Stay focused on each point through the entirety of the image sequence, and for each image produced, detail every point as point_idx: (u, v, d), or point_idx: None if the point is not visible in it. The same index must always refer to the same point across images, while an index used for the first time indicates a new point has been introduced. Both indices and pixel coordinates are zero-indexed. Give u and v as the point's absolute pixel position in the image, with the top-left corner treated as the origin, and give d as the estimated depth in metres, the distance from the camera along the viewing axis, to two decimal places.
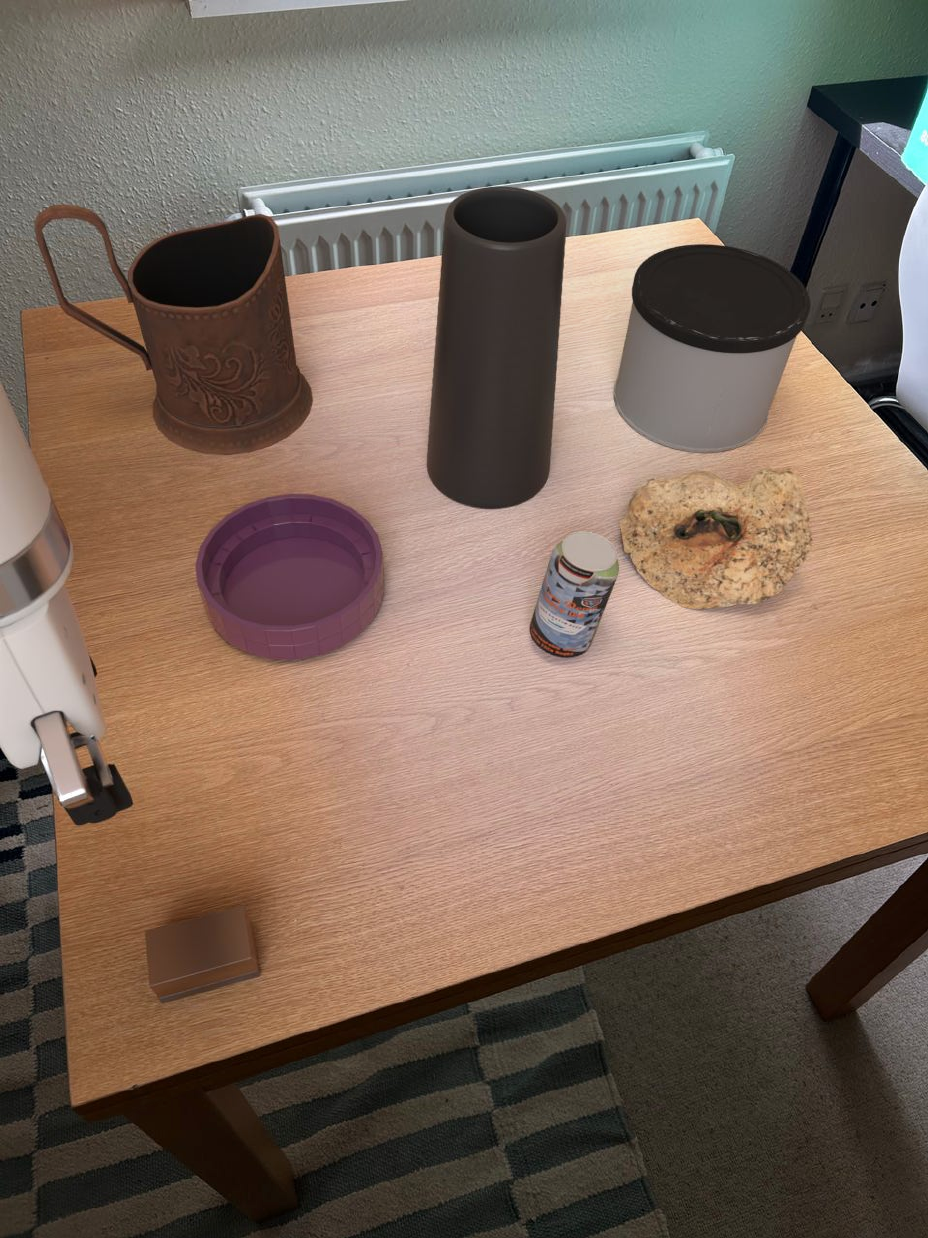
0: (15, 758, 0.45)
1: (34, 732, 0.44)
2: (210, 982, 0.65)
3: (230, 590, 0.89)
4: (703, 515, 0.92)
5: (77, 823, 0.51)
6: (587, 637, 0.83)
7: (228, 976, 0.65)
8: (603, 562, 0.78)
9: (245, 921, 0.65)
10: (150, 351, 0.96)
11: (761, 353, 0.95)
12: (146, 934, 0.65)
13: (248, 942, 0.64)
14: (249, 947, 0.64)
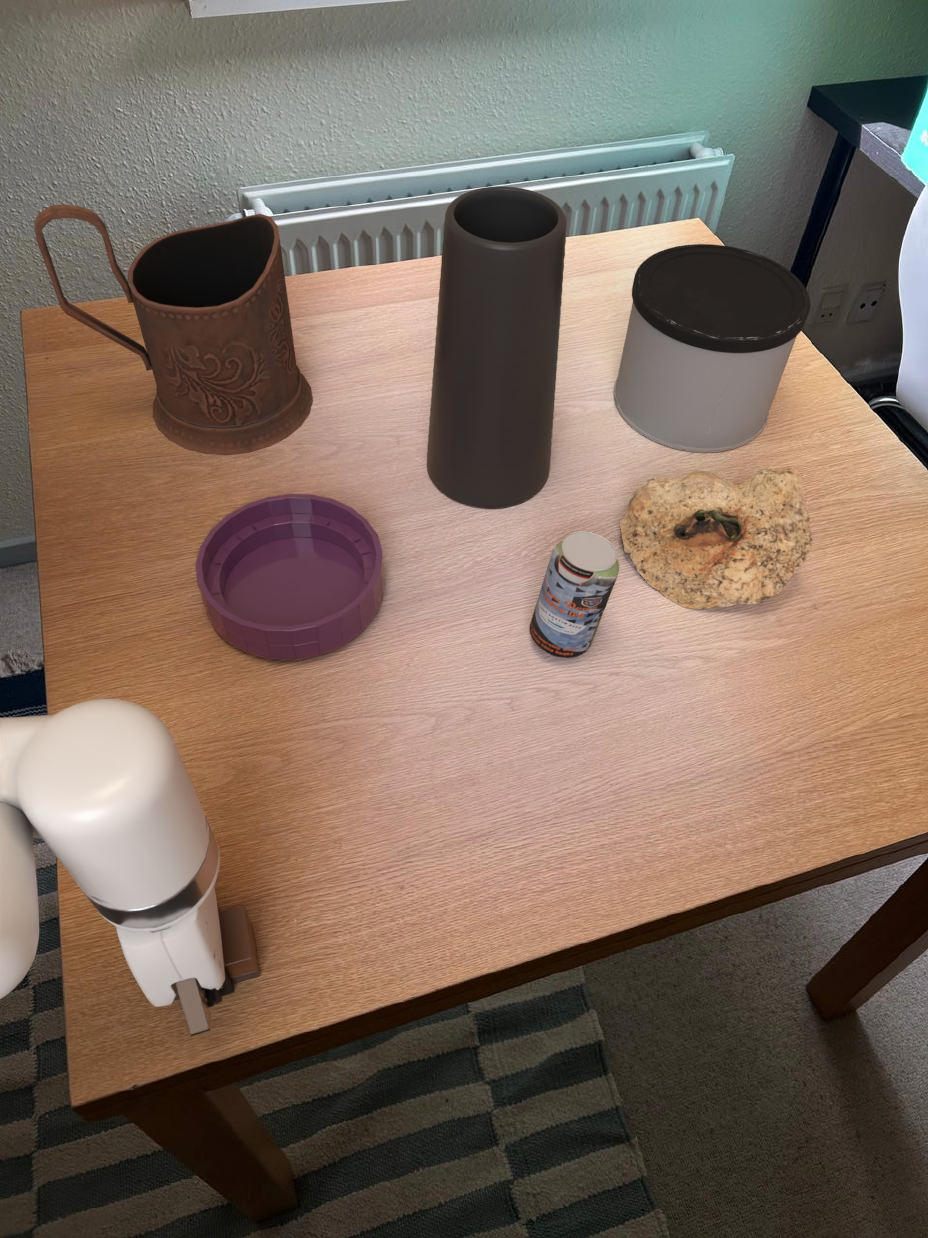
0: (154, 1003, 0.57)
1: (172, 990, 0.56)
2: None
3: (230, 590, 0.89)
4: (703, 515, 0.92)
5: None
6: (587, 637, 0.83)
7: None
8: (603, 561, 0.78)
9: (245, 921, 0.65)
10: (150, 351, 0.96)
11: (761, 352, 0.95)
12: None
13: (248, 942, 0.64)
14: (249, 947, 0.64)
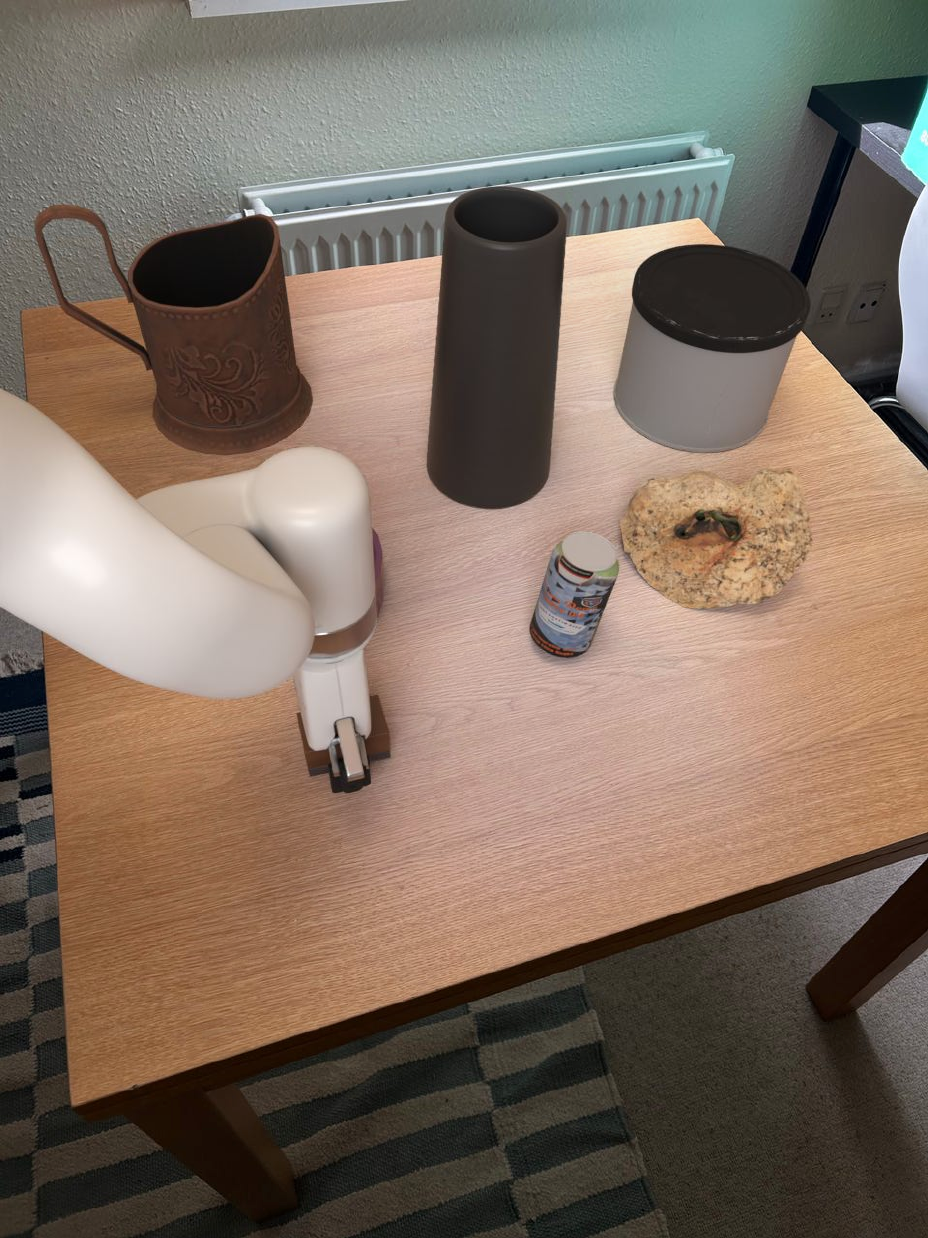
0: (316, 744, 0.68)
1: (333, 729, 0.67)
2: None
3: None
4: (703, 515, 0.92)
5: (334, 792, 0.74)
6: (587, 637, 0.83)
7: (367, 752, 0.77)
8: (603, 561, 0.78)
9: (380, 706, 0.77)
10: (150, 351, 0.96)
11: (761, 352, 0.95)
12: (298, 715, 0.76)
13: (384, 721, 0.76)
14: (386, 725, 0.76)
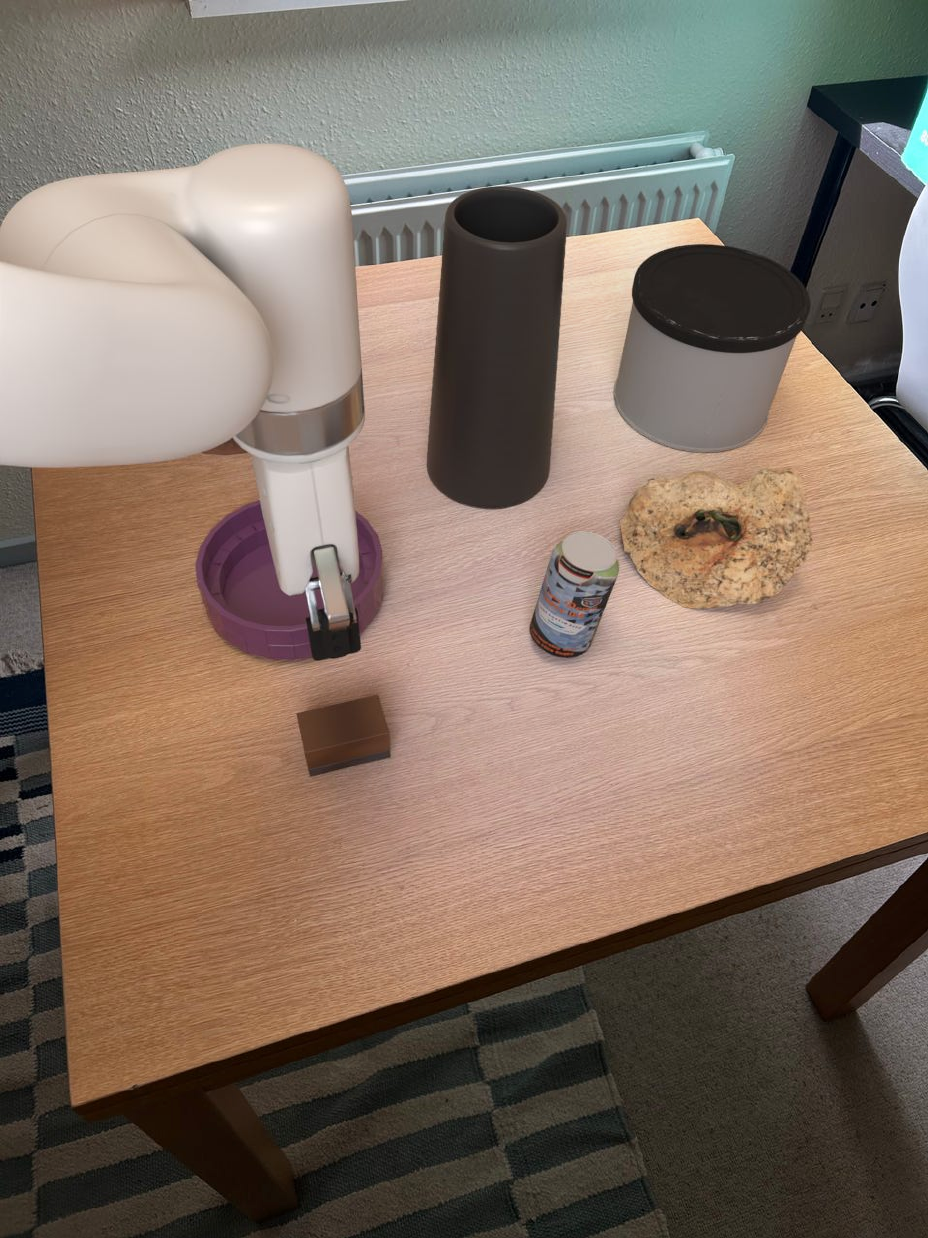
0: (289, 583, 0.53)
1: (310, 561, 0.52)
2: (351, 757, 0.77)
3: (230, 590, 0.89)
4: (703, 515, 0.92)
5: (315, 658, 0.59)
6: (587, 637, 0.83)
7: (367, 752, 0.77)
8: (603, 561, 0.78)
9: (380, 706, 0.77)
10: None
11: (761, 352, 0.95)
12: (298, 715, 0.76)
13: (384, 721, 0.76)
14: (386, 725, 0.76)
